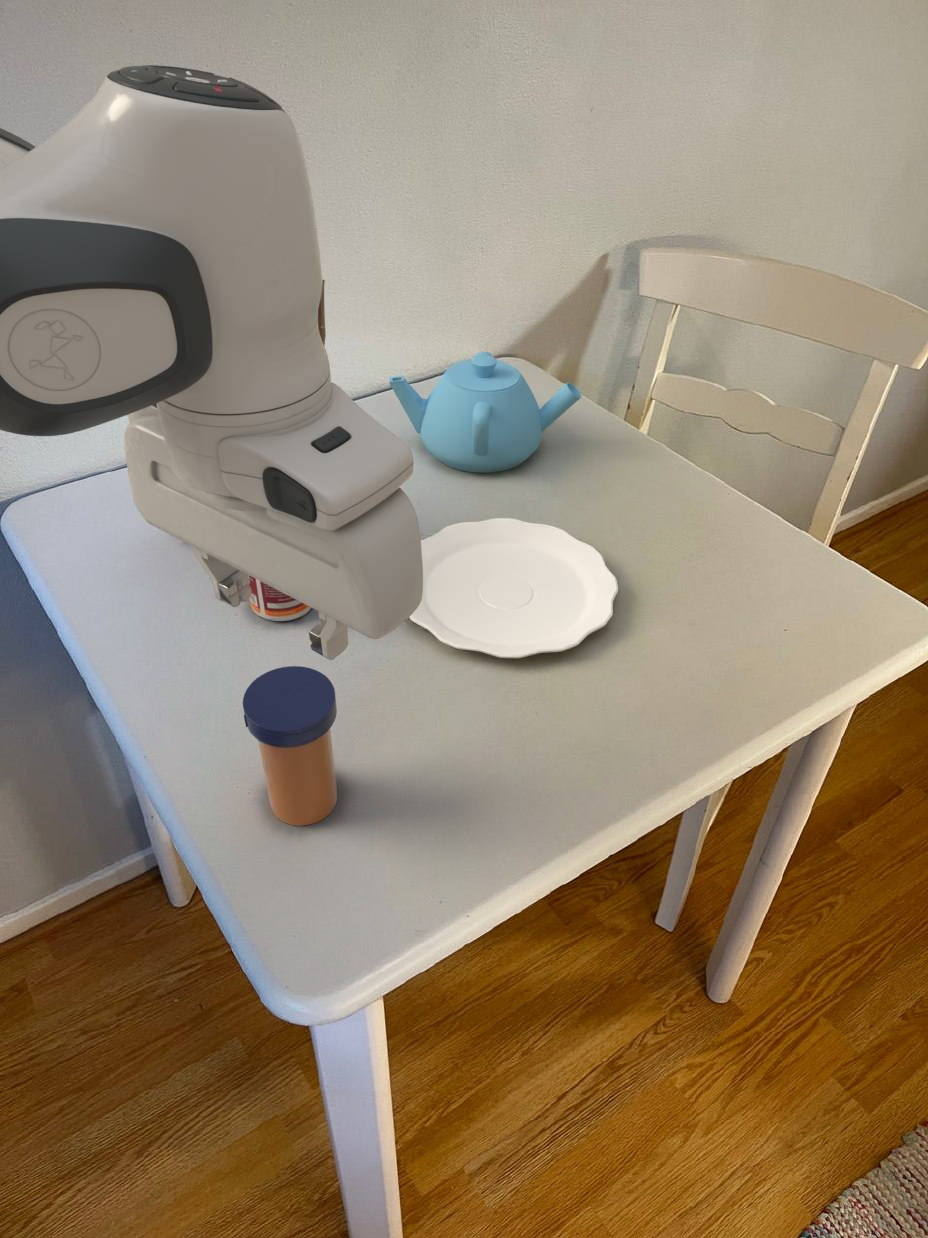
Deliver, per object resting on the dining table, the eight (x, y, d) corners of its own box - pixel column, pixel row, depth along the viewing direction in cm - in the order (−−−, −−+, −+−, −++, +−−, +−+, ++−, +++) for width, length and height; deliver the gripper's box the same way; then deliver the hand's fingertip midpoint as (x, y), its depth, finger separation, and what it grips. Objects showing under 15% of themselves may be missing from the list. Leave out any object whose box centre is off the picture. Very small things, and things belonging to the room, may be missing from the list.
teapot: (496, 501, 99) (501, 407, 92) (386, 446, 107) (383, 357, 100) (579, 450, 108) (590, 362, 100) (472, 404, 116) (474, 319, 109)
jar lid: (257, 760, 58) (254, 743, 57) (235, 697, 62) (231, 680, 61) (349, 731, 60) (347, 714, 59) (320, 673, 65) (319, 656, 63)
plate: (628, 551, 92) (630, 538, 91) (595, 689, 77) (597, 675, 76) (434, 516, 96) (434, 503, 95) (366, 641, 81) (365, 627, 80)
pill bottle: (328, 592, 86) (319, 495, 79) (294, 631, 82) (281, 531, 75) (273, 575, 88) (259, 478, 81) (237, 612, 84) (219, 513, 76)
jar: (280, 835, 65) (263, 738, 58) (262, 785, 68) (244, 688, 62) (346, 812, 67) (337, 716, 60) (325, 765, 70) (314, 668, 63)
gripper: (74, 391, 50) (131, 587, 59) (357, 517, 41) (372, 724, 50) (164, 353, 54) (204, 541, 63) (439, 460, 45) (440, 661, 54)
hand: (280, 623), depth 56 cm, fingers open, 7 cm apart
